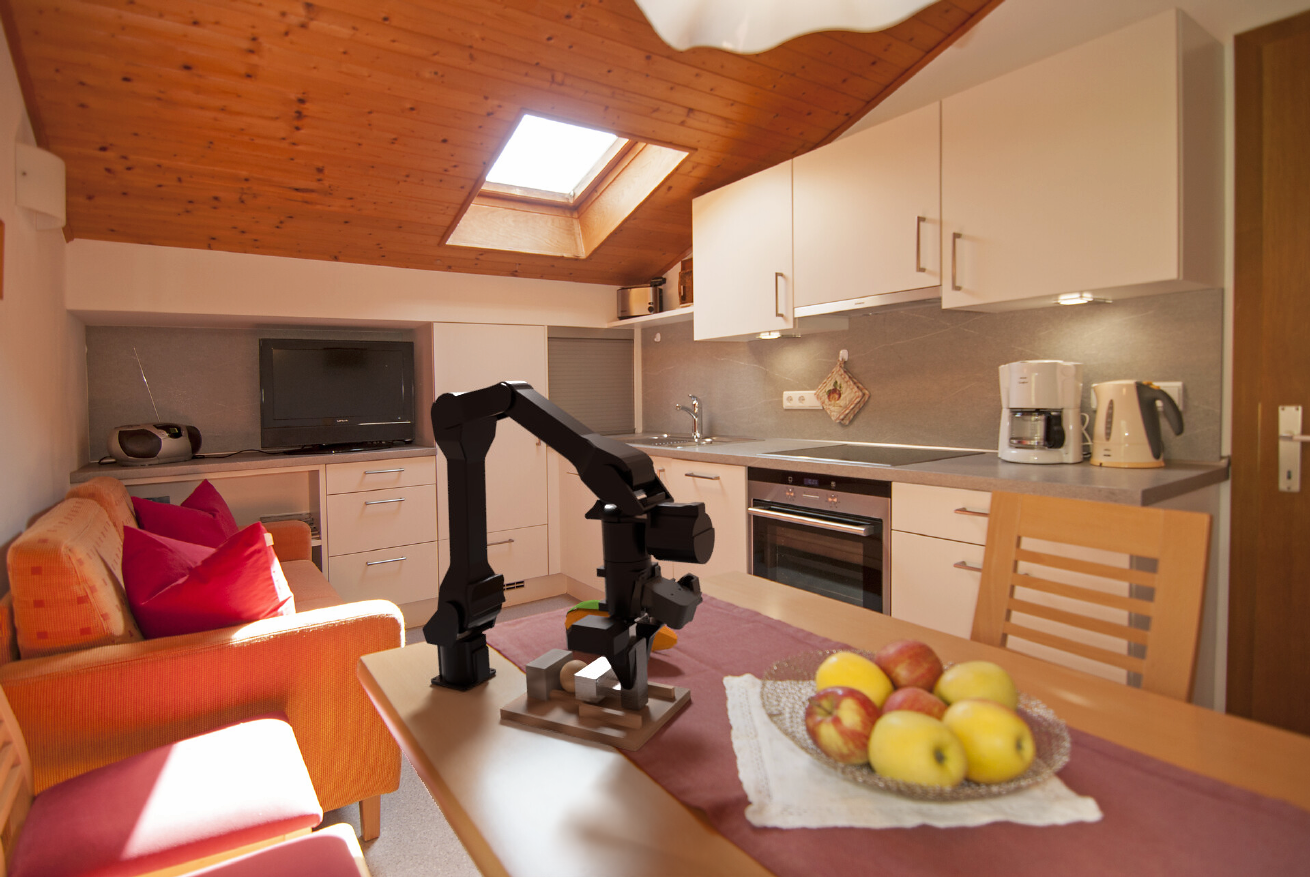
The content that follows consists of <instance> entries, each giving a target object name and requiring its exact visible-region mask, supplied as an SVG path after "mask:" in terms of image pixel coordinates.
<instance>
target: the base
mask: <svg viewBox="0 0 1310 877" xmlns="http://www.w3.org/2000/svg"><path fill="white" fill-rule="evenodd" d="M573 652H574V651H572V650H568V649H567V650H565V649H559V648H555V647H553V648H552V649H550V650H549V651H547V652H545V653H543V654H542V655H540V656H539V657H537V658H535V659H533V660H531V661H530V662H528V663H527V664H525V679H526V680H525V681H526V682H525V685H526V691H525V692H524V693H523V694H521V695H519V696H517V697H516V698H515V699H513V700H511V701H510V702H509V703H507V704H505V705H504V706H502V707H501V708H499V713H500V714H499V715H500V716H499V717H500V719H502V720H506V721H510V722H514V723H518V724H521V725H522V724H523V725H525V726H526V725H527V726H528V727H529V726H530V727H534V728H537V729H542V730H547V731H551V732H554V733H557V734H563V735H567V736H571V737H574V738H578V739H582V740H586V741H590V742H594V743H599V744H603V745H607V746H610V747H615V748H619V749H624V750H627V751H632V752H637V751H638V750H639V749H641V747H643V746H644V744H646V743H647V742H648V740H650V739H651V738H652V737H653V736H654V735H655V734H656V733H657V732H658V731H659V730H660V729H661V728H662V727H663V726H664V725H665V724H666V723H667V722H668V721H670V719H671V718H672V717H673V716H674V715H675V714H676V713H677V712H678V711H680V709H681V708H683V706H685V705H686V704H687V703H688V701H689V700H690V699H691V697H692V696H691V693H692V692H691V689H690V688H688V687H687V688H686V687H682V686H681V687H680V686H677V685H671V684H666V683H660V682H655V681H650V680H648V703H647V704H646V705H645V706H644V707H642V708H641V709H640V710H639V711H638V710H633V709H629V708H624V707H621V700H620V699H616V698H611V697H606V696H605V697H604V698H603V699H602V700H600V701H599V702H598V703H593V702H588V701H583V700H579V699H576V694H575V693H570V692H567V691H566V690H565V689H564V688H563V687H562V685H561V683H560V672H561V670H562V668H563V666H564V665H565V664H566V663H568V662H570V661H573V660H574V655H573V654H574V653H573Z"/></svg>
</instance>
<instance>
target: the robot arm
mask: <svg viewBox="0 0 1310 877" xmlns="http://www.w3.org/2000/svg"><path fill="white" fill-rule="evenodd" d="M509 418H510V419H511V420H513V421H514V422H515V423H517V424H518V425H519V426H520V427H522V428H523V429H525V430H526V431H528V432H529V433H530V434H531V435H533V437H535V438H537V439H539V441H541V442H542V443H544V444H545V445H547V446H548V447H550V448H551V450H553V451H555V452H556V453H558V454H559V455H560V456H562V457H563V458H565V460H567V461H568V462H569V463H570V464H571V465H572V466H573V467H574V468H575V470H576V472H577V474H578V476H579V480H580V481H581V482H582V484H584V485H585V486H586V487H587V488H588V489H589V490H590V491H591V493H592V494H594V496H595V497H596V498H598V499H597V500H595V502H594V505H593V506H592V507H591V508H590V509H589V510H587V511H586V513H584V518H585V519H586V520H595V521H597V520H598V521H600V522H601V523H600V524H601V540H602V541H601V543H602V559H603V565H601V566H598V567H596V577H597V578H604V579H603V580H604V599H602V601H600V602H598V607H599V611H604V612H608V614H609V615H610V616H609V617H602V616H595V615H588V616H586V617H584V618H582V619H580V620H579V621H577V622H575V623H573V624H572V625H571V626H570V627H569V628H568V629H567V630H566V629H565V640H566V642H565V643H566V649H567V651H572V652H578V653H585V654H592V655H596V656H601V657H605V658H606V659H607V661H608V663H609V664H610V666H611V668H612V669H613V671H614V673H615V675H616V677H617V678H618V680H619V682H620V684H621V685H622V687H623V689H626V690H631V689H632V688H633V679H634V662H635V649H636V647H637V646H638V645H639V644H640V643H641V642H642V641H643V640H644V638H646V656H647V665H648V664H649V660H650V656H651V648H652V644H653V641H654V638H655V635H656V633H657V632H658V631H659V630H660V629H661V628H662V627H663V626H666V627H667V628H669V629H670V630H676V631H679V630H682V629H683V628H684V627H685V626H686V625H687V624H688V623H692V622H693V620H694V618H695V614H696V611H697V608H698V606H699V605H700V604H702V603H703V600H704V598H703V597H702V594H703V592H702V591H701V583H700V579H699V578H700V577H699V576H697V575H696V574H693V573H690V572H688V573H686V574H684V575H682V576H681V577H680V578H679V579H678V580H677V578H675V577H672V578H670V579H669V578H666V577H664V576H662V567H661V565H659V561H661V562H674V563H683V564H695V565H706V564H707V563H708V562H709V561H710V559H711V558H712V554H713V552H714V548H715V540H716V532H715V531H716V529H715V527H714V526H713V521H712V518H711V517H710V516H709V514H708V513H706V503H705V502H703V501H693V502H684V503H683V502H675V499H674V497H673V495H672V494H671V493H670V491H669V490H668V489H667V487H666V486H665V484H664V483H663V481H662V479H660V477H659V476H658V474H657V473H656V471H655V467H654V461H653V459H652V457H651V456H649V454H648V453H646V452H644V451H643V450H641V449H639V448H637V447H634V446H632V445H630V444H628V443H625V442H623V441H620V440H616V439H613V438H609V437H606V436H603V435H601V434H598V432H595V431H594V430H592V428H589V426H587V425H585V424H584V423H583V422H581V421H579V420H578V419H576V418H575V417H574V416H572V415H571V414H569V413H568V412H566V410H564V409H562V408H561V407H560V406H558V405H557V404H555V403H554V402H552V401H551V400H550V399H548V398H546V397H545V396H544V395H542V394H541V393H540V392H538V391H537V390H535V388H534V387H533V386H532V385H531V384H530V383H528V382H526V381H524V380H511V381H510V380H508V381H507V380H506V381H503V380H502V381H500V382H497V383H495V384H492V385H490V386H487V387H483V388H479V389H475V390H471V391H453V392H444V393H441V394H440V395H439V396H438V397H437V398H436V399H435V400H434V402H432V404H431V408H430V421H431V425H432V426H431V428H432V432H433V438H434V441H435V443H436V444H437V446H438V448H439V449H440V451H441V452H442V454H443V456H444V457H445V460H446V470H447V473H446V474H447V477H446V480H447V504H448V505H447V508H448V534H449V535H448V538H449V539H448V540H449V541H448V542H449V565H448V568H447V571H446V573H445V575H444V576H443V579H442V581H441V583H440V585H439V588H438V598H437V608H436V611H435V612H434V613H433V615H432V616H431V617H430V618H429V619H428V621H427V622H426V624H424V626H423V627H422V633H423V636H424V638H425V642H426V644H429V645H433V646H437V648H436V649H437V650H436V651H437V661H438V662H437V663H438V664H437V665H438V675H436V676H434V677H433V678H431V679H430V683H431V684H433V685H437V686H442V687H446V688H450V689H456V690H459V691H463V692H464V691H467V690H470V689H471V688H473V687H475V686H476V685H479V684H480V683H482V682H483V681H485V680H487V679H489V678H490V677H492V676H494V675H496V674H497V669H496V668H493V667H491V666H490V650H489V645H488V643H487V633H485V631H487V630H490V629H493V628H495V626H496V625H495V624H496V621H497V616H498V615H499V614H500V613H501V612H502V608H503V603H505V602H506V601H507V599H506V596H505V590H504V586H505V577H504V574H503V573H496V572H495V570H494V568H493V567H492V566H491V565H490V563H489V558H488V526H487V525H488V522H487V517H488V516H487V489H486V488H487V487H486V485H487V484H486V483H487V482H486V481H487V479H486V457H487V455H488V453H489V451H490V448H491V447H492V444H493V442H494V440H495V438H496V434H497V424H498V423H497V422H498V421H502V420H505V419H509ZM643 495H645V496H644V497H641V498H638V497H640V496H643ZM652 557H653V558H654V559H655V560H657V561H652ZM676 580H677V581H676Z"/></svg>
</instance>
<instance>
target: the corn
mask: <svg viewBox="0 0 1310 877" xmlns="http://www.w3.org/2000/svg"><path fill="white" fill-rule="evenodd" d="M602 600H603V599H602ZM602 600H600V599H589V600H585V601H581V602H579V603H578V604H576V605H574V606H573V607H571V608H570V609H569V610H568V611H567V612H566V615H565V621H564V626H565V627H564V628H565V631H566V630H567V629H568V628H569V627H570V626H571V625H572V624H573V623H575V622H577V621H579V620H580V619H582V618H584V617H586V616H588V615H595V616H602V617H609V616H610V615H609V614H608V612H604V611H599V607H598V602H600V601H602ZM677 644H678V635H677V634H676V632H674V630H673V629H671V628H669V627H668V626H667V625H664V626H663V627H662V628H661V629H660V630H659V631H658V632H657V633H656V635H655V638H654V641H653V644H652V648H651V652H658V651H663V650H670V649H672V648H673V647H674V646H676V645H677ZM651 652H650V653H651Z"/></svg>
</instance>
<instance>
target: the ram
mask: <svg viewBox="0 0 1310 877" xmlns="http://www.w3.org/2000/svg"><path fill="white" fill-rule="evenodd" d="M587 665H588V666H587V667H585V668H584V669H582V670H581V671H579V672H578V673H576V674H575V694H576V699H579V700H583V701H588V702H593V703H598V702H599V701H600V700H602V699H603V698H604V697H605V696H606V697H611V698H616V699H620V700H621V707H624V708H629V709H633V710H638V711H639V710H640V709H641V708H642V707H644V706H645V705H646V704H647V703H648V681H649V680H648V664H647V656H646V638H644V640H643V641H642V642H641V643H640V644H639V645H638V646H637V647H636V649H635V662H634V679H633V688H632V689H631V690H626V689H623V687H622V685H621V684H620V682H619V680H618V678H617V677H616V675H615V673H614V671H613V669H612V668H611V666H610V664H609V663H608V661H607V659H606V658H605V656H601V657H598V658H597V659H596V660H594V661H592V662H591V663H590V664H587Z"/></svg>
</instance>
